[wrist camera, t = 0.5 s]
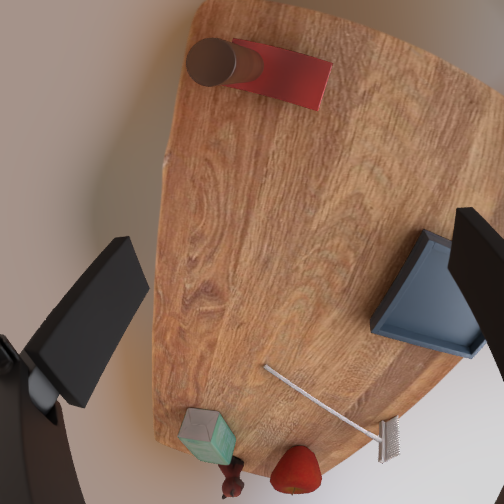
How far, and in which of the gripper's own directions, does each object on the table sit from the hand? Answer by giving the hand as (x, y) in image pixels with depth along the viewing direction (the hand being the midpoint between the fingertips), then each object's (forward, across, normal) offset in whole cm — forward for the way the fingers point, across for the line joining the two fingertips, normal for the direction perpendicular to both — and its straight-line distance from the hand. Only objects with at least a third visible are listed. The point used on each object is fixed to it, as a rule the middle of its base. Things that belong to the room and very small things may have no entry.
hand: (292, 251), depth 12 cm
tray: (+18, +18, -19) cm, 32 cm away
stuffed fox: (+20, -23, -75) cm, 81 cm away
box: (+21, -22, -54) cm, 62 cm away
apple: (+19, -4, -63) cm, 66 cm away
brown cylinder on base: (+19, 0, +7) cm, 21 cm away
